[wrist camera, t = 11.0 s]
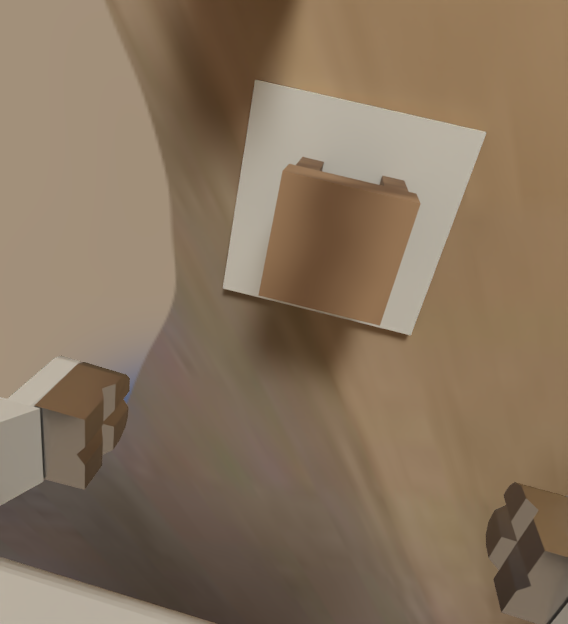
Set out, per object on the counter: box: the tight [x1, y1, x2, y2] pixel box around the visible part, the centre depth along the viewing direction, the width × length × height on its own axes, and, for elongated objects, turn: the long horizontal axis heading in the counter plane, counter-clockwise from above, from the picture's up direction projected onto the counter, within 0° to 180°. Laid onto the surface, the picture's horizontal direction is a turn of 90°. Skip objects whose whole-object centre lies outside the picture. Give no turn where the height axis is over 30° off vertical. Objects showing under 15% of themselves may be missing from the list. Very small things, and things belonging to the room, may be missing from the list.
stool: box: [259, 157, 421, 326], centre depth 24 cm, size 6×6×6 cm
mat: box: [223, 80, 486, 335], centre depth 27 cm, size 12×12×1 cm
